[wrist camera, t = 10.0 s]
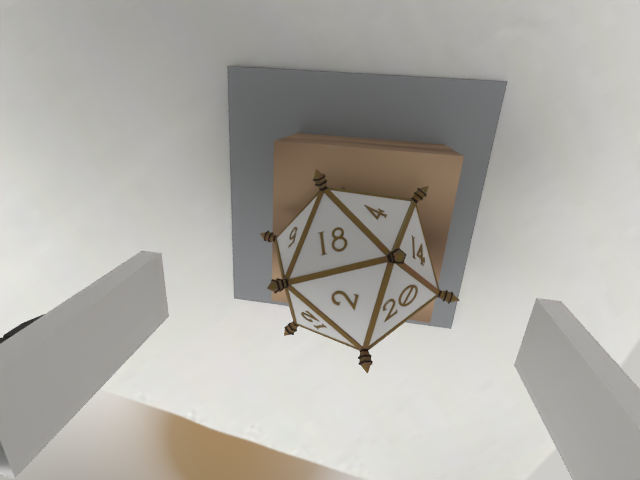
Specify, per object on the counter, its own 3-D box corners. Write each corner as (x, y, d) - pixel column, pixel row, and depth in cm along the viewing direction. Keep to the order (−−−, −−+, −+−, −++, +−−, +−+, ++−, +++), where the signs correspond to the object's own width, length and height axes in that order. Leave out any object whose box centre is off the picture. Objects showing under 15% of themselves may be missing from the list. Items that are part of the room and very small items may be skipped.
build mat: (231, 66, 25) (227, 66, 24) (504, 82, 23) (507, 81, 22) (236, 294, 31) (234, 298, 31) (449, 324, 29) (450, 328, 29)
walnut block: (297, 133, 25) (273, 141, 20) (444, 144, 24) (463, 156, 18) (292, 262, 29) (271, 300, 23) (420, 278, 28) (430, 322, 22)
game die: (371, 189, 24) (476, 122, 14) (405, 318, 23) (538, 339, 13) (233, 216, 21) (246, 156, 11) (267, 362, 20) (311, 427, 11)
